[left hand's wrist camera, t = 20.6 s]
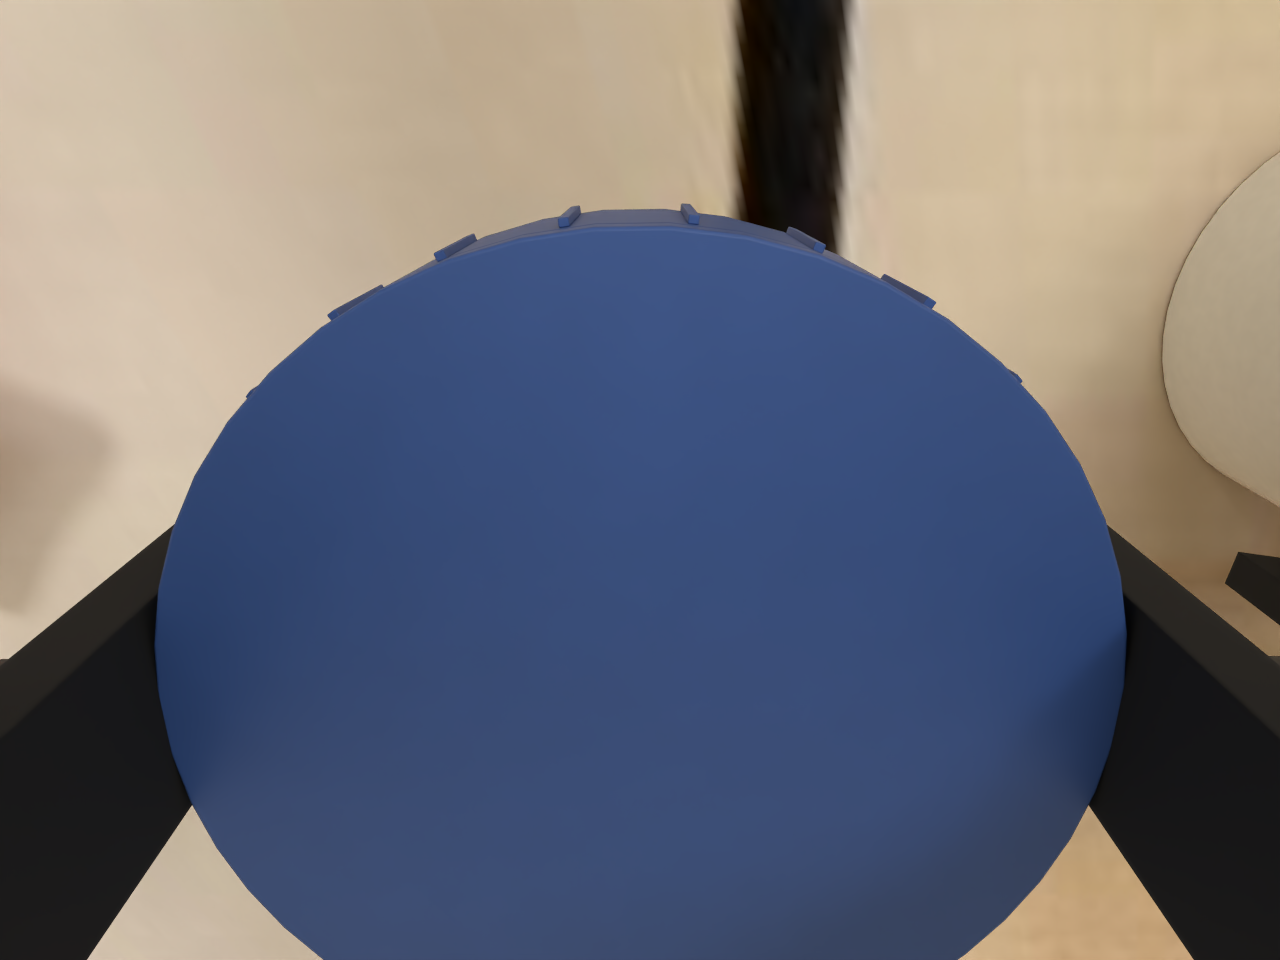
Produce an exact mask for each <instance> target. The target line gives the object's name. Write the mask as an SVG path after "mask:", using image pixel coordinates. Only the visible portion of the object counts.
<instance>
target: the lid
mask: <svg viewBox="0 0 1280 960" xmlns="http://www.w3.org/2000/svg"><path fill="white" fill-rule="evenodd" d="M825 247H826V245H825V244H823V243H821V242H819V241H817V240H816V239H814V238H812V237H810V236H808V235H806V234H804V233H803V232H801V231H799V230H797V229H794V228H792V227H788V230H787V232H786V233H784V232H781V231H778V230H774V229H770V228H766V227H763V226H759V225H755V224H751V223H747V222H744V221H740V220H736V219H732V218H729V217H725V216H717V215H708V214H700V213H697V212H696V211H695V209H694V208H693V207H692V206H691V205H690V204H681V211H676V210H668V209H638V210H600V211H594V212H587V213H581V210H580V206H573V207H570V208H569V209H568V210H567V211H566V212H565V213H564V214H562V215H561V216H560V217H554V218H548V219H542V220H539V221H536V222H532V223H529V224H525V225H522V226H519V227H515V228H512V229H509V230H505V231H502V232H499V233H495V234H492V235H488V236H485V237H483V238H481V239H479V240H477V239H476V237H475V235H474V234H471V235H468V236H466V237H464V238H462V239H460V240H458V241H456V242H455V243H453V244H451V245H449V246H447V247H445V248H443V249H441V250H439V251H437V252H435V253H434V256H435V258H436V259H435V260H433V261H431V262H429V263H427V264H425V265H424V266H422V267H420V268H418V269H416V270H415V271H413V272H411V273H409V274H407V275H406V276H404V277H402V278H400V279H398V280H397V281H395V282H393V283H391V284H390V285H387V286H386V287H383V286H382V285H379V286H378V287H376V288H374V289H372V290H370V291H368V292H366V293H365V294H363V295H361V296H359V297H357V298H355V299H353V300H351V301H350V302H348V303H346V304H344V305H342V306H340V307H338V308H336V309H335V310H333V311H332V312H331V313H329V314H328V317H329V318H330V319H331V321H330V322H329V323H327V324H326V325H324V326H323V327H321V328H320V329H319V330H317V331H316V332H315V333H314V334H313V335H312V336H311V337H309V338H308V339H307V340H306V341H305V342H304V343H303V344H301V345H300V346H299V347H298V348H297V349H296V350H295V351H293V352H292V353H291V354H290V355H289V356H288V357H286V358H285V359H284V360H283V361H282V362H281V363H280V364H278V365H277V366H276V367H275V368H274V369H273V370H272V371H270V372H269V373H268V375H267V376H266V377H265V378H264V379H263V381H262V382H261V383H260V384H259V385H258V386H257V387H255V388H253V389H252V390H251V391H250V392H249V393H248V394H247V396H246V398H247V399H246V401H245V402H244V403H243V404H242V405H241V407H240V408H239V409H238V410H237V411H236V412H235V414H234V415H233V416H232V417H231V418H230V420H229V421H228V422H227V423H226V425H225V427H224V428H223V430H222V432H221V433H220V435H219V437H218V438H217V440H216V442H215V443H214V445H213V446H212V448H211V450H210V451H209V453H208V455H207V456H206V458H205V460H204V461H203V463H202V464H201V466H200V468H199V469H198V471H197V473H196V474H195V476H194V479H193V481H192V483H191V486H190V488H189V491H188V493H187V496H186V498H185V501H184V503H183V505H182V508H181V510H180V513H179V515H178V518H177V520H176V522H175V525H174V527H173V530H172V533H171V537H170V541H169V546H168V550H167V554H166V558H165V563H164V567H163V571H162V575H161V580H160V584H159V588H158V601H157V615H156V629H155V642H154V648H155V660H156V673H157V685H158V692H159V697H160V702H161V707H162V711H163V716H164V720H165V725H166V729H167V734H168V738H169V743H170V747H171V751H172V755H173V758H174V761H175V763H176V766H177V769H178V771H179V774H180V776H181V779H182V781H183V784H184V786H185V789H186V791H187V794H188V796H189V799H190V801H191V803H192V805H193V807H194V809H195V810H196V812H197V814H198V816H199V818H200V819H201V821H202V823H203V825H204V826H205V828H206V830H207V832H208V833H209V835H210V837H211V839H212V841H213V842H214V844H215V846H216V848H217V849H218V850H219V852H220V853H221V854H222V856H223V857H224V858H225V860H226V861H227V862H228V864H229V865H230V866H231V868H232V869H233V870H234V872H235V873H236V874H237V876H238V877H239V878H240V880H241V881H242V882H243V884H244V885H245V886H246V888H247V889H248V890H249V891H250V892H251V893H252V894H253V895H254V897H255V898H256V899H257V900H258V901H259V902H260V903H261V904H262V905H263V906H264V907H265V908H266V909H267V910H268V911H269V912H270V913H271V914H272V915H273V916H274V917H275V918H276V919H277V920H278V921H279V922H280V924H281V925H282V926H283V927H284V928H286V929H287V930H288V931H289V932H290V933H292V934H293V935H294V936H295V937H296V938H298V939H299V940H300V941H301V942H303V943H304V944H305V945H306V946H307V947H309V948H310V949H311V950H312V951H313V952H315V953H316V954H317V955H318V956H320V957H321V958H322V959H323V960H958V959H959V958H961V957H962V956H964V955H965V954H966V953H967V952H969V951H970V950H971V949H972V948H973V947H974V946H976V945H977V944H978V943H979V942H980V941H981V940H983V939H984V938H985V937H986V936H987V935H988V934H989V933H991V932H992V931H993V930H994V929H995V928H996V927H998V926H999V925H1000V924H1001V923H1002V922H1003V921H1005V919H1006V918H1007V917H1008V916H1009V915H1010V914H1011V913H1012V912H1013V911H1014V910H1015V909H1016V907H1017V906H1018V905H1019V904H1020V903H1021V902H1022V901H1023V900H1024V899H1025V898H1026V897H1027V895H1028V894H1029V893H1030V892H1031V891H1032V890H1033V889H1034V888H1035V887H1036V886H1037V885H1038V883H1039V882H1040V881H1041V880H1042V878H1043V877H1044V875H1045V874H1046V873H1047V871H1048V870H1049V868H1050V867H1051V866H1052V864H1053V863H1054V861H1055V860H1056V859H1057V857H1058V856H1059V854H1060V853H1061V852H1062V850H1063V849H1064V847H1065V846H1066V845H1067V843H1068V842H1069V840H1070V839H1071V837H1072V835H1073V833H1074V831H1075V829H1076V827H1077V826H1078V824H1079V822H1080V820H1081V818H1082V816H1083V814H1084V812H1085V810H1086V809H1087V807H1088V805H1089V803H1090V801H1091V799H1092V797H1093V795H1094V793H1095V791H1096V788H1097V786H1098V783H1099V780H1100V777H1101V775H1102V772H1103V769H1104V766H1105V763H1106V761H1107V758H1108V755H1109V752H1110V748H1111V744H1112V740H1113V735H1114V730H1115V726H1116V721H1117V717H1118V712H1119V707H1120V703H1121V698H1122V693H1123V689H1124V680H1125V660H1126V640H1127V631H1126V622H1125V613H1124V603H1123V594H1122V584H1121V576H1120V572H1119V569H1118V565H1117V561H1116V557H1115V554H1114V550H1113V546H1112V543H1111V539H1110V535H1109V532H1108V528H1107V524H1106V520H1105V518H1104V516H1103V514H1102V511H1101V509H1100V507H1099V505H1098V502H1097V500H1096V498H1095V496H1094V494H1093V491H1092V489H1091V487H1090V485H1089V482H1088V480H1087V478H1086V476H1085V474H1084V471H1083V469H1082V467H1081V465H1080V463H1079V462H1078V460H1077V458H1076V457H1075V455H1074V454H1073V452H1072V451H1071V449H1070V448H1069V446H1068V445H1067V443H1066V442H1065V440H1064V439H1063V437H1062V436H1061V434H1060V433H1059V431H1058V429H1057V428H1056V426H1055V425H1054V423H1053V422H1052V420H1051V419H1050V417H1049V416H1048V414H1047V413H1046V411H1045V410H1044V409H1043V408H1042V407H1041V406H1040V405H1039V404H1038V402H1037V401H1036V400H1035V399H1034V398H1033V397H1032V396H1031V395H1030V394H1029V392H1028V391H1027V390H1026V389H1025V388H1024V387H1023V386H1022V385H1021V384H1020V383H1021V382H1022V380H1021V378H1020V377H1019V376H1018V375H1017V374H1015V373H1014V372H1012V371H1011V370H1009V369H1007V368H1006V367H1005V366H1004V365H1003V364H1002V363H1001V362H1000V361H999V360H998V359H997V358H995V357H994V356H993V355H992V354H990V353H989V352H988V351H987V350H986V349H984V348H983V347H982V346H981V345H979V344H978V343H977V342H976V341H975V340H973V339H972V338H971V337H970V336H968V335H967V334H966V333H965V332H964V331H962V330H961V329H960V328H959V327H957V326H956V325H955V324H954V323H953V322H951V321H950V320H949V319H947V318H946V317H944V316H942V315H941V314H939V313H937V312H936V311H934V310H932V308H933V306H934V305H935V304H936V302H935V301H934V300H932V299H931V298H929V297H928V296H926V295H924V294H922V293H920V292H918V291H916V290H914V289H912V288H910V287H909V286H907V285H905V284H903V283H901V282H899V281H897V280H895V279H893V278H891V277H890V276H888V275H886V274H884V275H883V276H882V278H881V279H880V278H878V277H876V276H875V275H873V274H871V273H869V272H867V271H866V270H864V269H862V268H860V267H858V266H857V265H855V264H853V263H851V262H849V261H848V260H846V259H844V258H842V257H840V256H839V255H837V254H834V253H832V252H830V251H827V250H825Z"/></svg>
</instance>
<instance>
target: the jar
mask: <svg viewBox="0 0 1280 960" xmlns="http://www.w3.org/2000/svg"><path fill="white" fill-rule="evenodd" d="M1162 364H1163V374H1164V384H1165V388H1166V392H1167V395H1168V399H1169V403H1170V407H1171V409H1172V411H1173V414H1174V416H1175V418H1176V421H1177V423H1178V425H1179V427H1180V429H1181V430H1182V432H1183V434H1184V435H1185V437H1186V438H1187V440H1188V441H1189V443H1190V444H1191V446H1192V447H1193V448H1194V449H1195V450H1196V451H1197V452H1198V453H1199V454H1200V455H1201V457H1202V458H1203V459H1204V460H1205V461H1206V462H1208V463H1209V464H1210V465H1211V466H1213V467H1214V468H1215V469H1216V470H1218V471H1219V472H1220V473H1222V474H1223V475H1225V476H1227V477H1228V478H1230V479H1232V480H1234V481H1235V482H1237V483H1239V484H1240V485H1242V486H1244V487H1246V488H1247V489H1249V490H1251V491H1253V492H1254V493H1256V494H1258V495H1259V496H1261V497H1263V498H1265V499H1266V500H1268V501H1270V502H1271V503H1273V504H1275V505H1277V506H1278V507H1280V152H1279V153H1278V154H1276V155H1275V156H1274V157H1272V158H1271V159H1269V160H1268V161H1267V162H1265V163H1264V164H1263V165H1262V166H1261V167H1259V168H1258V169H1257V170H1256V171H1255V172H1254V173H1253V174H1252V175H1251V176H1249V177H1248V178H1247V179H1246V180H1245V181H1244V182H1243V183H1242V184H1241V185H1240V186H1239V187H1238V188H1237V189H1236V190H1235V191H1234V192H1233V193H1232V194H1231V196H1230V197H1229V198H1228V199H1227V200H1226V201H1225V202H1224V203H1223V204H1222V206H1221V207H1220V208H1219V209H1218V210H1217V212H1216V213H1215V215H1214V216H1213V217H1212V219H1211V220H1210V221H1209V223H1208V224H1207V226H1206V227H1205V228H1204V230H1203V231H1202V232H1201V234H1200V236H1199V238H1198V239H1197V241H1196V243H1195V245H1194V246H1193V248H1192V250H1191V252H1190V253H1189V255H1188V257H1187V259H1186V261H1185V263H1184V266H1183V268H1182V270H1181V272H1180V275H1179V277H1178V279H1177V282H1176V284H1175V287H1174V290H1173V294H1172V297H1171V300H1170V304H1169V307H1168V310H1167V316H1166V322H1165V328H1164V333H1163V351H1162Z"/></svg>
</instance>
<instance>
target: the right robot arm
mask: <svg viewBox="0 0 1280 960" xmlns="http://www.w3.org/2000/svg"><path fill="white" fill-rule="evenodd" d="M1225 584H1227V585H1228V586H1229V587H1231V588H1232V589H1233V590H1235V591H1236V592H1237V593H1238V594H1240V595H1241V596H1242V597H1244V598H1245V599H1246V600H1248V601H1249V602H1250V603H1252V604H1253V605H1254V606H1255V607H1257V608H1258V609H1259V610H1261V611H1262V612H1263V613H1265V614H1266V615H1267V616H1269V617H1270V618H1271V619H1272V620H1274V621H1275V622H1276V623H1278V624H1279V625H1280V558H1278V557H1271V556H1263V555H1256V554H1249V553H1242V552H1238V554H1237V556H1236V559H1235V561H1234V563H1233V566H1232V568H1231V570H1230V573H1229V575H1228V577H1227V580H1226V582H1225Z"/></svg>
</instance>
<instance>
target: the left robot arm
mask: <svg viewBox="0 0 1280 960" xmlns="http://www.w3.org/2000/svg"><path fill="white" fill-rule="evenodd" d="M174 525H175V524H174ZM174 525H173V526H172V527H171V528H169V529H168V530H167V531H166V532H164V533H163V534H162V535H161V536H159V537H158V538H157V539H156V540H155V541H153V542H152V543H151V544H150V545H148V546H147V547H146V548H145V549H143V550H142V551H141V552H140V553H139V554H137V555H136V556H135V557H134V558H132V559H131V560H130V561H129V562H127V563H126V564H125V565H124V566H123V567H121V568H120V569H119V570H118V571H116V572H115V573H114V574H113V575H111V576H110V577H109V578H108V579H107V580H105V581H104V582H103V583H102V584H100V585H99V586H98V587H97V588H95V589H94V590H93V591H92V592H91V593H89V594H88V595H87V596H86V597H84V598H83V599H82V600H81V601H79V602H78V603H77V604H76V605H75V606H73V607H72V608H71V609H70V610H68V611H67V612H66V613H65V614H64V615H62V616H61V617H60V618H59V619H57V620H56V621H55V622H54V623H52V624H51V625H50V626H49V627H48V628H46V629H45V630H44V631H43V632H41V633H40V634H39V635H38V636H36V637H35V638H34V639H33V640H32V641H30V642H29V643H28V644H27V645H25V646H24V647H23V648H22V649H20V650H19V651H18V652H17V653H16V654H14V655H13V656H12V657H11V658H9V659H1V660H0V960H87V959H88V957H89V956H90V954H91V953H92V951H93V950H94V948H95V947H96V945H97V944H98V943H99V941H100V940H101V938H102V937H103V935H104V934H105V932H106V931H107V929H108V928H109V926H110V925H111V923H112V922H113V920H114V919H115V918H116V916H117V915H118V913H119V912H120V910H121V909H122V907H123V906H124V904H125V903H126V901H127V900H128V898H129V897H130V895H131V894H132V892H133V891H134V890H135V888H136V887H137V885H138V884H139V882H140V881H141V879H142V878H143V876H144V875H145V873H146V872H147V870H148V869H149V867H150V866H151V865H152V863H153V862H154V860H155V859H156V857H157V856H158V854H159V853H160V851H161V850H162V848H163V847H164V845H165V844H166V842H167V841H168V840H169V838H170V837H171V835H172V834H173V832H174V831H175V829H176V828H177V826H178V825H179V823H180V822H181V820H182V819H183V817H184V816H185V814H186V813H187V812H188V810H189V809H190V807H191V806H192V803H191V801H190V799H189V796H188V794H187V791H186V789H185V786H184V784H183V781H182V779H181V776H180V774H179V771H178V769H177V766H176V763H175V761H174V758H173V755H172V751H171V747H170V743H169V738H168V734H167V729H166V725H165V720H164V716H163V711H162V707H161V702H160V697H159V692H158V685H157V673H156V660H155V648H154V642H155V629H156V615H157V601H158V588H159V584H160V580H161V575H162V571H163V567H164V563H165V558H166V554H167V550H168V546H169V541H170V537H171V533H172V530H173V527H174ZM1107 528H1108V532H1109V535H1110V539H1111V543H1112V546H1113V550H1114V554H1115V557H1116V561H1117V565H1118V569H1119V572H1120V576H1121V584H1122V594H1123V603H1124V613H1125V622H1126V631H1127V640H1126V660H1125V680H1124V689H1123V693H1122V698H1121V703H1120V707H1119V712H1118V717H1117V721H1116V726H1115V730H1114V735H1113V740H1112V744H1111V748H1110V752H1109V755H1108V758H1107V761H1106V763H1105V766H1104V769H1103V772H1102V775H1101V777H1100V780H1099V783H1098V786H1097V788H1096V791H1095V793H1094V795H1093V797H1092V799H1091V801H1090V803H1089V806H1090V808H1091V809H1092V811H1093V812H1094V814H1095V815H1096V817H1097V818H1098V819H1099V821H1100V822H1101V824H1102V825H1103V827H1104V828H1105V830H1106V831H1107V833H1108V834H1109V836H1110V837H1111V839H1112V840H1113V842H1114V843H1115V845H1116V846H1117V847H1118V849H1119V850H1120V852H1121V853H1122V855H1123V856H1124V858H1125V859H1126V861H1127V862H1128V864H1129V865H1130V867H1131V868H1132V870H1133V871H1134V872H1135V874H1136V875H1137V877H1138V878H1139V880H1140V881H1141V883H1142V884H1143V886H1144V887H1145V889H1146V890H1147V892H1148V893H1149V895H1150V896H1151V897H1152V899H1153V900H1154V902H1155V903H1156V905H1157V906H1158V908H1159V909H1160V911H1161V912H1162V914H1163V915H1164V917H1165V918H1166V920H1167V921H1168V922H1169V924H1170V925H1171V927H1172V928H1173V930H1174V931H1175V933H1176V934H1177V936H1178V937H1179V939H1180V940H1181V942H1182V943H1183V945H1184V946H1185V947H1186V949H1187V950H1188V952H1189V953H1190V955H1191V956H1192V958H1193V959H1194V960H1280V656H1268V655H1266V654H1265V653H1264V652H1263V651H1261V650H1260V649H1259V648H1258V647H1257V646H1255V645H1254V644H1253V643H1252V642H1250V641H1249V640H1248V639H1247V638H1245V637H1244V636H1243V635H1242V634H1241V633H1239V632H1238V631H1237V630H1236V629H1234V628H1233V627H1232V626H1231V625H1229V624H1228V623H1227V622H1226V621H1225V620H1223V619H1222V618H1221V617H1220V616H1218V615H1217V614H1216V613H1215V612H1213V611H1212V610H1211V609H1210V608H1209V607H1207V606H1206V605H1205V604H1204V603H1202V602H1201V601H1200V600H1199V599H1197V598H1196V597H1195V596H1194V595H1193V594H1191V593H1190V592H1189V591H1188V590H1186V589H1185V588H1184V587H1183V586H1181V585H1180V584H1179V583H1178V582H1177V581H1175V580H1174V579H1173V578H1172V577H1170V576H1169V575H1168V574H1167V573H1165V572H1164V571H1163V570H1162V569H1161V568H1159V567H1158V566H1157V565H1156V564H1154V563H1153V562H1152V561H1151V560H1149V559H1148V558H1147V557H1146V556H1145V555H1143V554H1142V553H1141V552H1140V551H1138V550H1137V549H1136V548H1135V547H1134V546H1132V545H1131V544H1130V543H1129V542H1127V541H1126V540H1125V539H1124V538H1122V537H1121V536H1120V535H1119V534H1118V533H1116V532H1115V531H1114V530H1113V529H1111V528H1110V527H1109V526H1108V525H1107Z"/></svg>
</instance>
